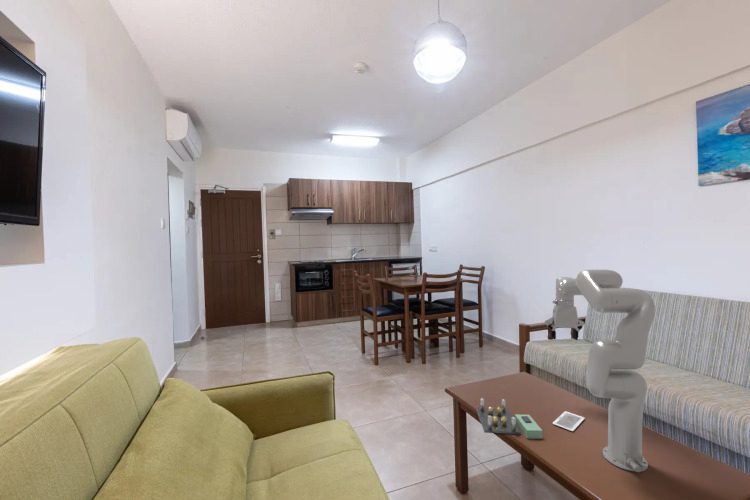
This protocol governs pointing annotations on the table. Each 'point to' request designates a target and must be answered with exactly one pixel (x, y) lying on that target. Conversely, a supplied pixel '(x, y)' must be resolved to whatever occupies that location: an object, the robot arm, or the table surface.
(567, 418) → the touchpad
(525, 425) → the green block
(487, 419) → the chassis
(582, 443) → the table surface
